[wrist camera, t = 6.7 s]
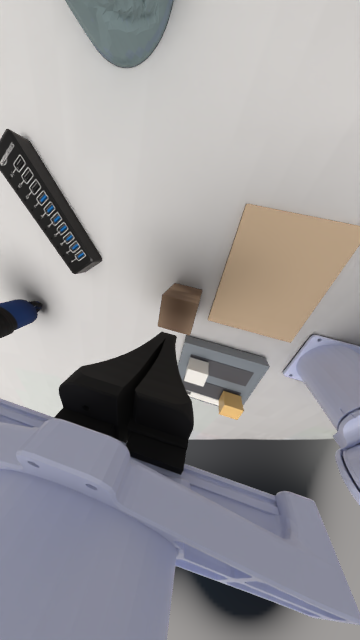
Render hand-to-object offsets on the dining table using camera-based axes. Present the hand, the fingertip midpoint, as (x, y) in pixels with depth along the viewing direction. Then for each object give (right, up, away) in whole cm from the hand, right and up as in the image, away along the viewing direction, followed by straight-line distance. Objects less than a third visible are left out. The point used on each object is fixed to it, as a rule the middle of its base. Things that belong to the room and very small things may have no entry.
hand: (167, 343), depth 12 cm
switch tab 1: (+4, -5, +11) cm, 13 cm away
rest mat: (+12, +7, +6) cm, 15 cm away
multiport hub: (-15, +16, +8) cm, 24 cm away
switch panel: (+7, -7, +14) cm, 17 cm away
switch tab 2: (+10, -12, +13) cm, 20 cm away
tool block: (+2, +5, +9) cm, 11 cm away
